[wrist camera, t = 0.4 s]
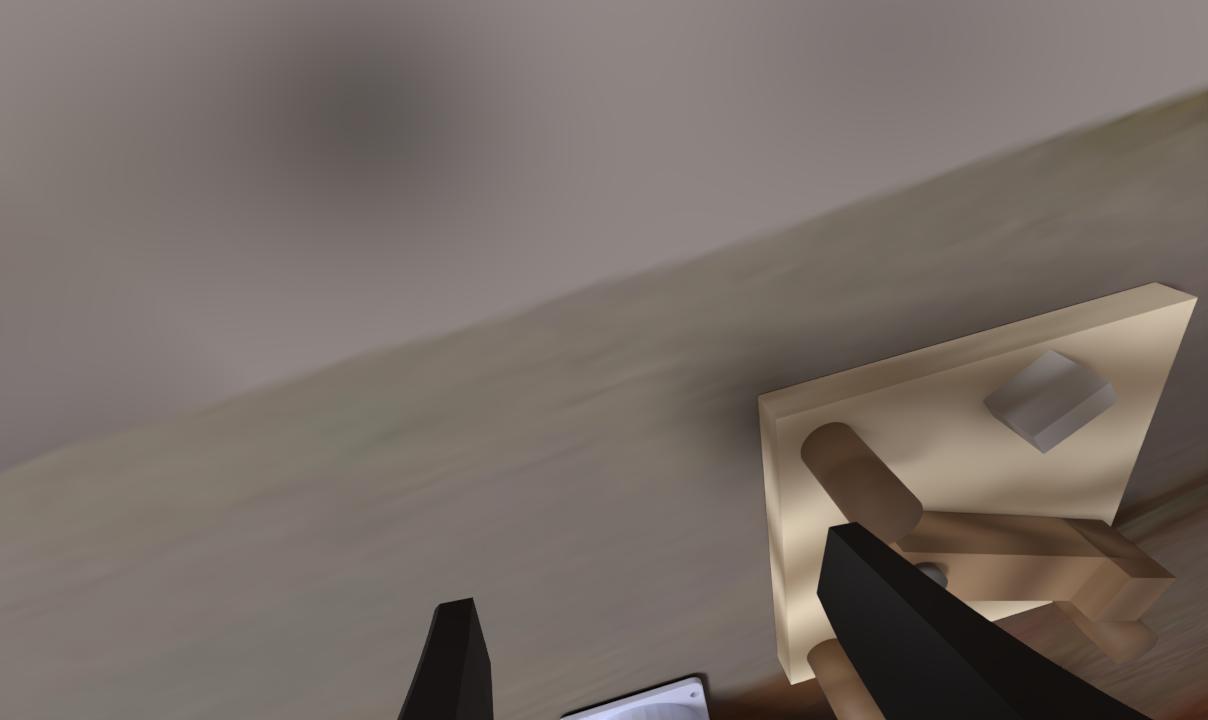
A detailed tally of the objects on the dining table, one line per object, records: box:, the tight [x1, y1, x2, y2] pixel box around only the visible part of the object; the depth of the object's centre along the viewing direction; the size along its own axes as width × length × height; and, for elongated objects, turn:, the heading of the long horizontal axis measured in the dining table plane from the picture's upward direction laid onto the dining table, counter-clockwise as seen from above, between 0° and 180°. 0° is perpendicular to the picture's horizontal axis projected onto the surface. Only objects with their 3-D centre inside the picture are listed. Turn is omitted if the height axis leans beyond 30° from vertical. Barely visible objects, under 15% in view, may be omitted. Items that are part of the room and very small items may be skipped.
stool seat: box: [758, 282, 1197, 720], centre depth 25 cm, size 18×17×6 cm
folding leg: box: [887, 511, 1177, 622], centre depth 25 cm, size 14×3×4 cm, turn 76°
